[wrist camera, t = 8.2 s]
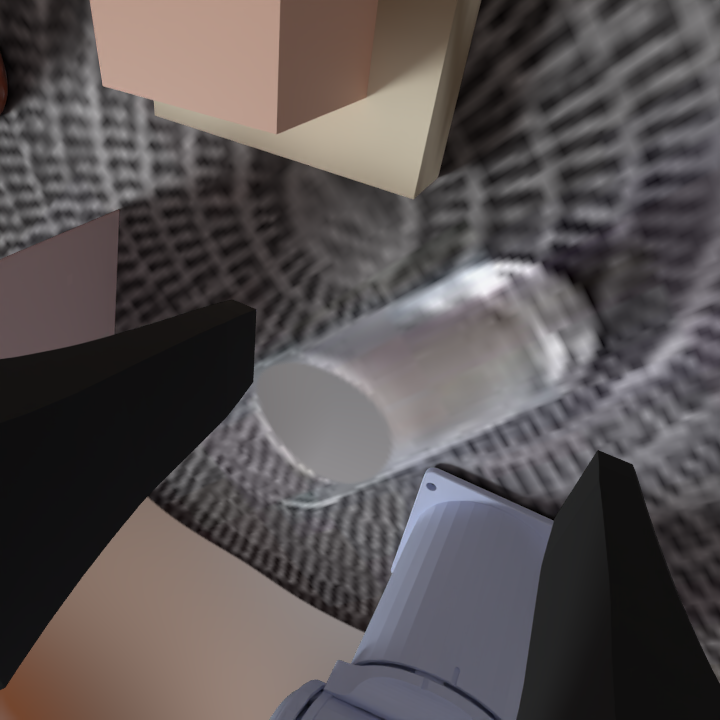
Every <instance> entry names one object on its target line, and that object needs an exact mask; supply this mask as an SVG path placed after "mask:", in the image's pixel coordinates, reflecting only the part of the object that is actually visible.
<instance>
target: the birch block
mask: <svg viewBox="0 0 720 720" xmlns="http://www.w3.org/2000/svg"><path fill="white" fill-rule="evenodd" d="M480 4H481V0H378V7H377V16H376V24H375V32H374V40H373V48H372V56H371V65H370V73H369V81H368V89H367V97H366V98H364V99H362V100H360V101H357V102H355V103H352V104H350V105H347V106H345V107H342V108H340V109H338V110H335V111H333V112H330V113H328V114H325V115H323V116H320V117H318V118H316V119H313V120H311V121H308V122H306V123H303V124H301V125H298V126H296V127H294V128H291V129H289V130H286V131H284V132H281V133H279V134H273V133H269V132H266V131H262V130H259V129H255V128H251V127H248V126H244V125H241V124H237V123H234V122H230V121H226V120H223V119H219V118H216V117H212V116H209V115H205V114H201V113H198V112H194V111H191V110H187V109H183V108H180V107H176V106H173V105H169V104H166V103H162V102H158V101H155V100H154V108H155V116H158V117H161V118H165V119H168V120H171V121H174V122H177V123H180V124H183V125H186V126H189V127H192V128H195V129H198V130H201V131H205V132H208V133H211V134H214V135H217V136H220V137H223V138H226V139H229V140H232V141H235V142H238V143H242V144H245V145H248V146H251V147H254V148H257V149H260V150H263V151H266V152H269V153H272V154H275V155H278V156H282V157H285V158H288V159H291V160H294V161H297V162H300V163H303V164H306V165H309V166H312V167H315V168H319V169H322V170H325V171H328V172H331V173H334V174H337V175H340V176H343V177H346V178H349V179H352V180H355V181H359V182H362V183H365V184H368V185H371V186H374V187H377V188H380V189H383V190H386V191H389V192H392V193H396V194H399V195H402V196H405V197H408V198H411V199H414V198H415V197H417V196H418V195H419V194H420V193H421V192H422V191H423V190H425V189H426V188H427V187H428V186H429V185H430V184H431V183H432V182H434V181H435V180H436V179H437V178H438V176H439V172H440V168H441V163H442V159H443V155H444V151H445V147H446V143H447V139H448V135H449V131H450V127H451V122H452V118H453V114H454V110H455V106H456V102H457V98H458V94H459V90H460V86H461V81H462V77H463V73H464V69H465V65H466V61H467V57H468V53H469V49H470V45H471V40H472V36H473V32H474V28H475V24H476V20H477V16H478V12H479V8H480Z"/></svg>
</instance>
